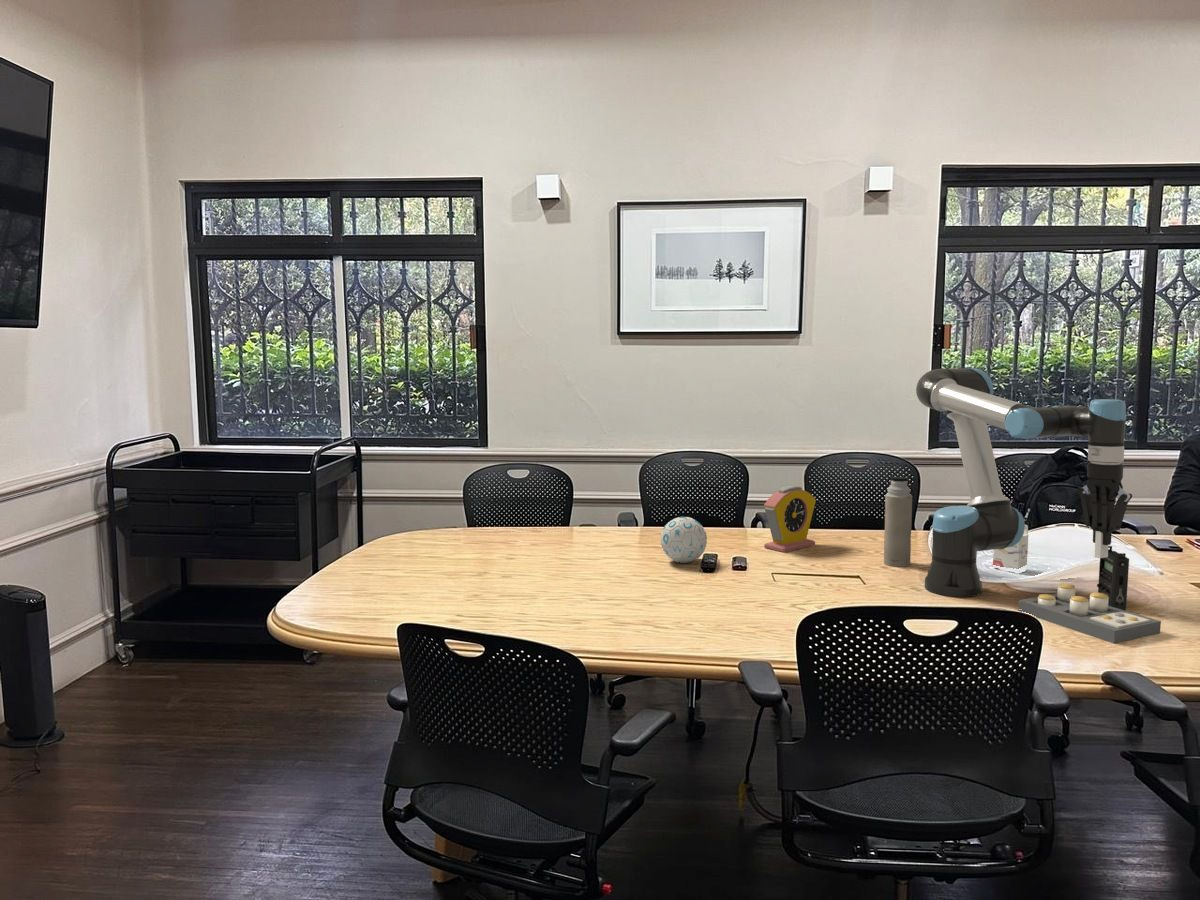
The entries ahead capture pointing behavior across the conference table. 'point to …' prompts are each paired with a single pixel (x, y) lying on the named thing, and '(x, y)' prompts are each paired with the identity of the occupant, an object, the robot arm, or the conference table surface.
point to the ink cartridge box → (1013, 554)
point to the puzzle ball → (683, 539)
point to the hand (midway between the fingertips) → (1101, 556)
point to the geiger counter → (1114, 578)
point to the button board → (1095, 621)
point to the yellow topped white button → (1098, 602)
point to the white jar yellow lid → (1079, 606)
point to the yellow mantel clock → (789, 518)
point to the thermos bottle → (898, 523)
